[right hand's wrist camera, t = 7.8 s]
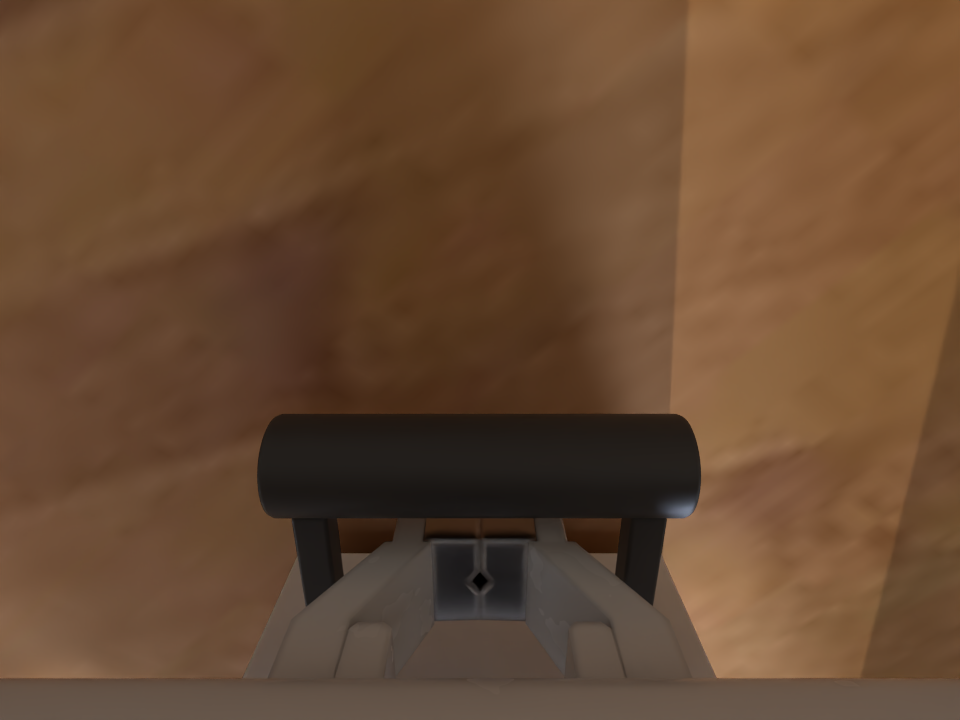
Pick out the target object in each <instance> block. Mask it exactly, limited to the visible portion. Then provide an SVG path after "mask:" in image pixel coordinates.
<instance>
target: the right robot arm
mask: <svg viewBox="0 0 960 720" xmlns="http://www.w3.org/2000/svg"><path fill="white" fill-rule="evenodd" d="M460 620H499V621H526V625H527V626H528V627H529V629H530V630H531V632H532V633H533V634H534V636H535V637H536V638H537V640H538V641H539V643H540V644H541V645H542V647H543V648H544V650H545V651H546V652H547V654H548V655H549V656H550V658H551V659H552V661H553V662H554V663H555V665H556V666H557V667H558V669H559V670H560V672H561V673H562V674H563V676H564V678H396V676H397V675H398V673H399V672H400V671H401V669H402V668H403V666H404V665H405V664H406V662H407V661H408V660H409V658H410V657H411V655H412V654H413V653H414V651H415V650H416V649H417V647H418V646H419V644H420V643H421V642H422V640H423V639H424V638H425V636H426V635H427V634H428V632H429V631H430V629H431V628H432V627H433V625H434V621H460ZM0 720H960V678H692V675H691V673H690V670H689V668H688V665H687V663H686V660H685V658H684V655H683V653H682V650H681V648H680V645H679V643H678V640H677V638H676V636H675V633H674V631H673V628H672V626H671V623H670V621H669V619H667V618H666V617H665V616H664V615H663V614H661V613H660V612H659V611H658V610H657V609H655V608H654V607H653V606H652V605H651V604H649V603H648V602H647V601H646V600H645V599H643V598H642V597H641V596H640V595H639V594H637V593H636V592H635V591H634V590H633V589H631V588H630V587H629V586H628V585H627V584H625V583H624V582H623V581H622V580H620V579H619V578H618V577H617V576H616V575H614V574H613V573H612V572H611V571H610V570H608V569H607V568H606V567H605V566H604V565H602V564H601V563H600V562H599V561H598V560H596V559H595V558H594V557H593V556H592V555H590V554H589V553H588V552H587V551H586V550H584V549H583V548H582V547H581V546H580V545H578V544H577V543H576V542H568V541H567V537H566V532H565V528H564V524H563V519H562V518H398V519H397V523H396V528H395V532H394V537H393V541H392V542H384V543H383V544H382V545H380V546H379V547H378V548H377V549H376V550H374V551H373V552H372V553H371V554H370V555H368V556H367V557H366V558H365V559H364V560H362V561H361V562H360V563H359V564H357V565H356V566H355V567H354V568H353V569H351V570H350V571H349V572H348V573H347V574H345V575H344V576H343V577H342V578H341V579H339V580H338V581H337V582H336V583H334V584H333V585H332V586H331V587H330V588H328V589H327V590H326V591H325V592H324V593H322V594H321V595H320V596H319V597H318V598H316V599H315V600H314V601H313V602H311V603H310V604H309V605H308V606H307V607H305V608H304V609H303V610H302V611H301V612H299V613H298V614H297V615H296V616H295V617H293V618H292V619H291V621H290V624H289V626H288V629H287V631H286V634H285V636H284V638H283V641H282V643H281V646H280V648H279V651H278V653H277V656H276V658H275V661H274V663H273V665H272V668H271V670H270V673H269V675H268V678H0Z"/></svg>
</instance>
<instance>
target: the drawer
mask: <svg viewBox="0 0 960 720" xmlns="http://www.w3.org/2000/svg"><path fill="white" fill-rule="evenodd" d="M257 483H258V492H259V498H260V502H261V505H262V507H263V509H264V511H265V512H266V514H267V515H269V516H271V517H273V518H292V525H293V531H294V538H295V544H296V550H297V558H296V560H295V562H294V564H293V566H292V569H291V571H290V573H289V575H288V577H287V580H286V582H285V584H284V586H283V589H282V591H281V593H280V595H279V597H278V600H277V602H276V604H275V606H274V609H273V611H272V613H271V615H270V617H269V620H268V622H267V624H266V626H265V629H264V631H263V633H262V635H261V637H260V640H259V642H258V644H257V646H256V649H255V651H254V653H253V655H252V657H251V660H250V662H249V664H248V666H247V668H246V671H245V673H244V675H243V677H242V678H268V675H269V673H270V670H271V668H272V665H273V663H274V661H275V658H276V656H277V653H278V651H279V648H280V646H281V643H282V641H283V638H284V636H285V634H286V631H287V629H288V626H289V624H290V621H291V619H292V618H293V617H295V616H296V615H297V614H298V613H299V612H301V611H302V610H303V609H304V608H305V607H307V606H308V605H309V604H310V603H311V602H313V601H314V600H315V599H316V598H318V597H319V596H320V595H321V594H322V593H324V592H325V591H326V590H327V589H328V588H330V587H331V586H332V585H333V584H334V583H336V582H337V581H338V580H339V579H341V578H342V577H343V576H344V575H345V574H347V573H348V572H349V571H350V570H351V569H353V568H354V567H355V566H356V565H357V564H359V563H360V562H361V561H362V560H364V559H365V558H366V557H367V556H368V555H370V554H371V553H341V548H340V540H339V532H338V524H337V518H622V520H621V528H620V537H619V545H618V553H589V554H590V555H592V556H593V557H594V558H595V559H596V560H598V561H599V562H600V563H601V564H602V565H604V566H605V567H606V568H607V569H608V570H610V571H611V572H612V573H613V574H614V575H616V576H617V577H618V578H619V579H620V580H622V581H623V582H624V583H625V584H627V585H628V586H629V587H630V588H631V589H633V590H634V591H635V592H636V593H637V594H639V595H640V596H641V597H642V598H643V599H645V600H646V601H647V602H648V603H649V604H651V605H652V606H653V607H654V608H655V609H657V610H658V611H659V612H660V613H661V614H663V615H664V616H665V617H666V618H667V619H669V621H670V623H671V626H672V628H673V631H674V633H675V636H676V638H677V640H678V643H679V645H680V648H681V650H682V653H683V655H684V658H685V660H686V663H687V665H688V668H689V670H690V673H691V675H692V678H716V675H715V673H714V671H713V669H712V667H711V664H710V662H709V660H708V658H707V655H706V653H705V651H704V649H703V646H702V644H701V642H700V640H699V638H698V635H697V633H696V631H695V629H694V626H693V624H692V622H691V620H690V618H689V615H688V613H687V611H686V609H685V606H684V604H683V602H682V600H681V597H680V595H679V593H678V591H677V589H676V586H675V584H674V582H673V580H672V577H671V575H670V573H669V571H668V568H667V566H666V564H665V562H664V560H663V557H662V555H661V553H662V547H663V541H664V534H665V528H666V522H667V519H666V518H685V517H687V516H689V515H691V514H692V513H693V511H694V510H695V508H696V506H697V503H698V499H699V494H700V486H701V465H700V456H699V451H698V446H697V442H696V438H695V435H694V433H693V430H692V428H691V426H690V424H689V423H688V421H687V420H686V419H685V418H684V417H682V416H680V415H677V414H281V415H279V416H276V417H275V418H274V419H273V420H272V421H271V422H270V423H269V425H268V427H267V429H266V431H265V434H264V436H263V439H262V443H261V447H260V452H259V459H258V470H257ZM396 678H564V676H563V674H562V673H561V672H560V670H559V669H558V667H557V666H556V665H555V663H554V662H553V661H552V659H551V658H550V656H549V655H548V654H547V652H546V651H545V650H544V648H543V647H542V645H541V644H540V643H539V641H538V640H537V638H536V637H535V636H534V634H533V633H532V632H531V630H530V629H529V627H528V626H527V625H526V621H499V620H460V621H434V625H433V627H432V628H431V629H430V631H429V632H428V634H427V635H426V636H425V638H424V639H423V640H422V642H421V643H420V644H419V646H418V647H417V649H416V650H415V651H414V653H413V654H412V655H411V657H410V658H409V660H408V661H407V662H406V664H405V665H404V666H403V668H402V669H401V671H400V672H399V673H398V675H397V676H396Z"/></svg>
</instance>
